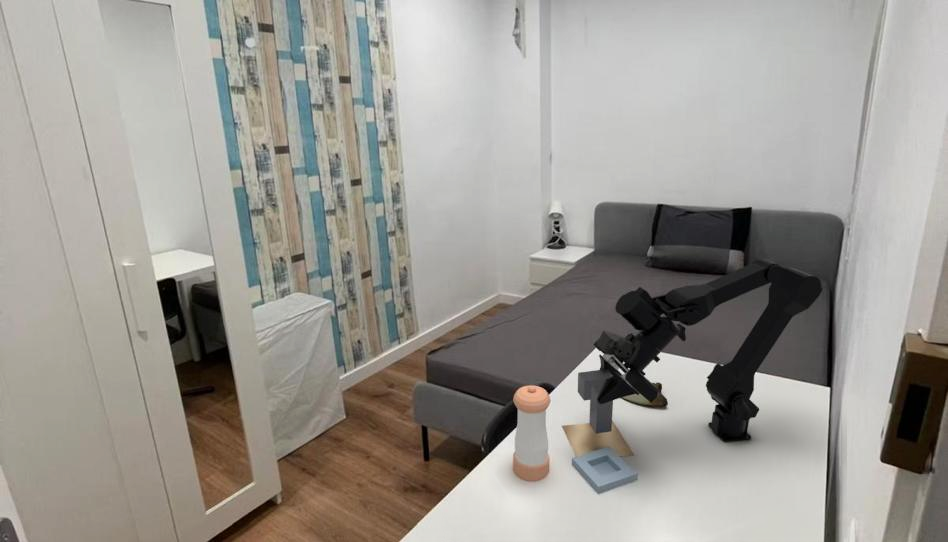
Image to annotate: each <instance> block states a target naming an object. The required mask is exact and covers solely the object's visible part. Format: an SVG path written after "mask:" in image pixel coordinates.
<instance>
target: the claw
mask: <svg viewBox="0 0 948 542" xmlns="http://www.w3.org/2000/svg"><path fill="white" fill-rule="evenodd" d="M651 383H652V384H653V385H654V386H655V387H656V388H657V389H658V390H659V396H658V397H657V398H656V399H655V400H654V401H653V402H652V403H651V402H649V401H648V400H647V399H646V398H645V397H643V396H642V395H641V394H639V395H637V394H633V395H629V396H625V397H621V398H622V399H625V400H627V401H628V402H632V403H636V404H638V405H642V406H650V407H656V408H666V407H668V405H669V403H668V402H669V401H668V399H667V397H666V396H664V394H663V393H662V390H663V384H662V383H661V382H651Z"/></svg>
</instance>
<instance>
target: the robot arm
mask: <svg viewBox="0 0 948 542" xmlns="http://www.w3.org/2000/svg"><path fill="white" fill-rule="evenodd" d="M768 284H770V286H769V287H768V301H767V302H768V303H767V305H766V307H765V308H764V310H763V312H762V313H761V315H760V316H759V318H758V319H757V321H756V323H755V324H754V325H753V327H752V329H751V331H750V332H749V333H748V335H747V336H746V338H745V339H744V341H743V343H741V346H740V347H739V349H738V351H736V353H735V355H734V356H733V358H732V359H731V361H729V362H727V363H725V364H723V365H721V364H720V363H716V364H715V365H714V367H713V369H712V371H711V372H710V374H708V376H707V377H706V379H707V381H706V383H705V387H706V391H707V393H708V394H709V396H710V397H711V400H713V401H714V402H716V404H715V406H714V411H713V412H712V416H711V422H708V424H707V425H708V427H709V428H710V429H711V430H712V431H713V432H714V433H715V434H716V436H718V437H719V439H720V440H721V441H723V442H725V443H729V442H738V441H748V440H751V439H752V435H750V433H748V430H749V422H750V420H751V419H754V418H757V416H758V413H759V412H760V407H758V406H757V405H756V404H755V403H754V402H753V401H752V400H751V399H750V398H751V397H752V395H753V392H754V390H755V374H756V373H757V371H758V370H759V368H760V366H761V365H762V364H763V362H764V360H765V359H766V358H767V356H768V354H769V353H770V351H771V350H772V349H773V347H774V346H775V344H776V343H777V341H778V340H779V338H780V337H781V335H782V334H783V332H784V331H785V329H786V328H787V326H788V325H789V323H790V321H791V320H792V319H793V317H794V316H797V315H798V314H800V313H802V312H804V311H807V310H808V309H809V308H810V307H811V306H812V305H813V304H814V302H815V301H816V300H817V299H819V297H820V295H821V293H822V292H823V286H822V282H821V280H820V278H819V277H818V276H815V275H812V274H810V273H808V272H805V271H801V270H799V269H796V268H794V267H791V266H790V267H789V266H788V267H783V266H781V265H780V264H779V263H776V262H774V261H771V260H769V259H766V258H758V259H755V260H754V261H752V263H750V264H747V265H745V266H744V267H742V268H739V269H736V270H734V271H732V272H728V273H727V274H725V275H723V276H720V277H717V278H716V279H713V280H711V281H709V282H707V283H703V284H695V285H684V286H682V287H677V288H674V289H671V290H670V291H668V292H667V293H665V294H661V295H656V296H653V297H652V296H651V295H650V293H649V292H648V291H647V290H646V289H644V288H643V287H642V286H639V287H638V288H637V289H635V290H630V291H629V292H627V293H625V294H622V295H621V296H620V297H619V298H618V300H617V302H616V304H615V306H614V307H615V308H614V309H615V312H616V313H617V314H618V315H619V316H620V317H621V318H622V319H623V320H624V321H626V322H627V324H629V325H630V326H631V327H632V328H633V329H635V330H637V331H638V332H636V334H635V335H634V334H633V333H632V332H631V333H628V334H627V335H626V336H621V335H619V334H616V333H614V332H610V331H608V330H602V332H601V334H600V336H599V338H598V339H597V340H596V341H595V342H594V343H593V346H594V347H595V348H596V349H597V350H598V351H599V352H601V353H603V354H602V355H601V354H599V355H598V357H599V359H600V368H599V370H603V369H607V370H608V371H609V372H610V373H611V374H612V375H613V376H614V380H613V382H612V383H611V384H610V385H609V387H608V388H607V389H606V390H605V391H604V392H603V394H602V395H601V396H600V398H599V399H598V402H599V403H600V404H604V403H607V402H610V401H613V402H614V401H615V400H618V399H621V398H622V397H625V396H629V395H633V394H637V395H639V394H641V395H642V396H643V397H645V398H646V399H647V400H648V401H649V402H651V403H652V402H653V401H654V400H655V399H656V398H657V397H658V396H659V390H658V389H657V388H656V387H655V386H654V385H653V384H652V383H653V382H652V381H650V380H649V379H648V378H647V377H646V376H645V375H646V372H644V370H645V369H646V368H647V367H648V366H649V365H650V364H651V363H652V361H655V362H656V363H658V362H659V361H661V357H659V356H658V355H660V353H661V352H662V351H663V350H665V348H666V347H668V345H669V344H670V343H671V342H673V340H674V339H675V338H678V339H680V340H681V342H686V340H687V338H686V337H687V336H686V335H687V334H686V327H685V326H688V327H692V326H694V325H697V324H699V323H700V322H702V321H704V320H705V319H707V318H708V317H710V316H711V314H712V313H713V311H714V310H715V309H716V308H717V307H718V306H720V305H722V304H725V303H727V302H729V301H731V300H734V299H736V298H738V297H740V296H743V295H746V294H748V293H750V292H752V291H754V290H757V289H759V288H761V287H763V286H766V285H768ZM662 315H664V316H662ZM675 322H679V323H675ZM619 369H620V370H621V371H622V372H623V373H621V371H619Z"/></svg>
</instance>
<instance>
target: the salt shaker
mask: <svg viewBox="0 0 948 542" xmlns="http://www.w3.org/2000/svg"><path fill="white" fill-rule="evenodd" d="M550 397H551V396H550V395H549V393H548V392H547V390H546V389H544V388H543V387H540V386H538V385H524V386H521V387H520V388H518V389H517V390H516V392H515V393H514V395H513V403H514V405H515V408H516V409H517V425H516V429H515V437H514V452H513V453H512V470H513V472H514V475H516V476H517V478H519V479H521V480H523V481H526V482H537V481H539V482H540V481H542V480H544V479H545V478H546V477H548V475H549V473H550V455H549V453H548V452H549V438H548V431H547V422H546V421H547V419H546V417H547V412H546V411H547V409H548V408H549V406H550V404H551V398H550Z"/></svg>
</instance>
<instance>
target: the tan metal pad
mask: <svg viewBox="0 0 948 542" xmlns="http://www.w3.org/2000/svg"><path fill="white" fill-rule="evenodd" d="M561 427H562V429H563V431H564V434H565V436H566V438H567V440H568V443H569V445H570V446H571V449H572V451H573V453H574V456H575V457H577V456H580V455H583V454H587V453H590V452H593V451H596V450H599V449H602V448H606V447H610V448H611V449H612V450H613V451H614V452H616V453H617V454H618V455H619V456H620V457H621V458H622V457H629V456H631V457H632V456H635V454H634V452H633V450H632V449H631V447H630V446H629V444H628V443H627V440H625V438H624V436H623V435H622V433H621V432H620V430H619V428H618V427H617V426H616V424H615V422H614V420H612V431H611V432H604V433H598V434H596V433H595V432H594V430H593V429H592V427H591V426H590V424H589V423H578V424H577V423H575V424H567V425H561Z"/></svg>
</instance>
